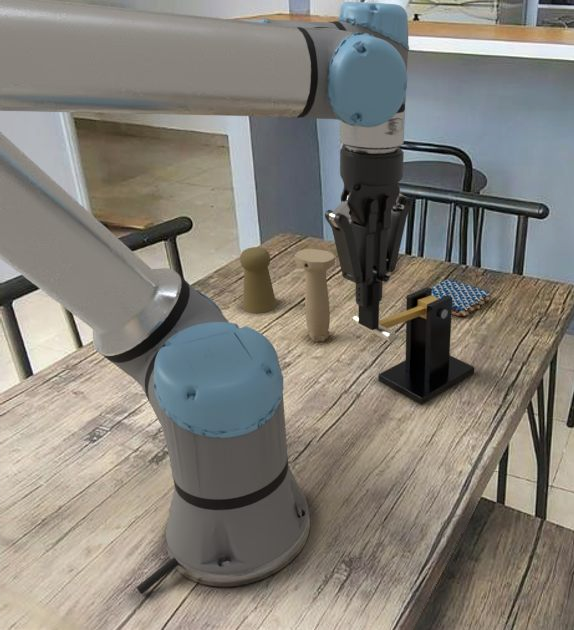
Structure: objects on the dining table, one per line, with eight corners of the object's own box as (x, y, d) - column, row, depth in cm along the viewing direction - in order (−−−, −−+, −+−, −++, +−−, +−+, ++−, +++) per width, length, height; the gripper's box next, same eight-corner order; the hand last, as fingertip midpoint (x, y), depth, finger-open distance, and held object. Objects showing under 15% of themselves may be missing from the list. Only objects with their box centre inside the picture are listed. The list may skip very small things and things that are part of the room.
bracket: (421, 405, 98) (423, 320, 91) (378, 380, 103) (377, 299, 97) (474, 373, 106) (479, 293, 99) (431, 352, 111) (434, 275, 105)
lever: (387, 346, 89) (388, 330, 88) (352, 328, 93) (352, 312, 92) (452, 320, 98) (454, 305, 97) (417, 304, 102) (418, 290, 101)
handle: (327, 349, 111) (323, 264, 104) (294, 340, 114) (288, 256, 107) (343, 336, 115) (340, 254, 108) (311, 327, 118) (306, 246, 111)
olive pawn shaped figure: (283, 303, 125) (279, 248, 120) (260, 316, 121) (254, 258, 116) (259, 295, 128) (254, 241, 123) (235, 307, 124) (229, 251, 119)
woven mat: (493, 299, 129) (494, 290, 128) (463, 320, 121) (464, 310, 120) (447, 285, 134) (448, 275, 133) (416, 304, 127) (416, 294, 126)
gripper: (352, 159, 74) (351, 350, 84) (431, 145, 82) (421, 321, 92) (309, 147, 78) (312, 330, 88) (388, 135, 87) (383, 303, 97)
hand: (368, 325), depth 90 cm, fingers closed
